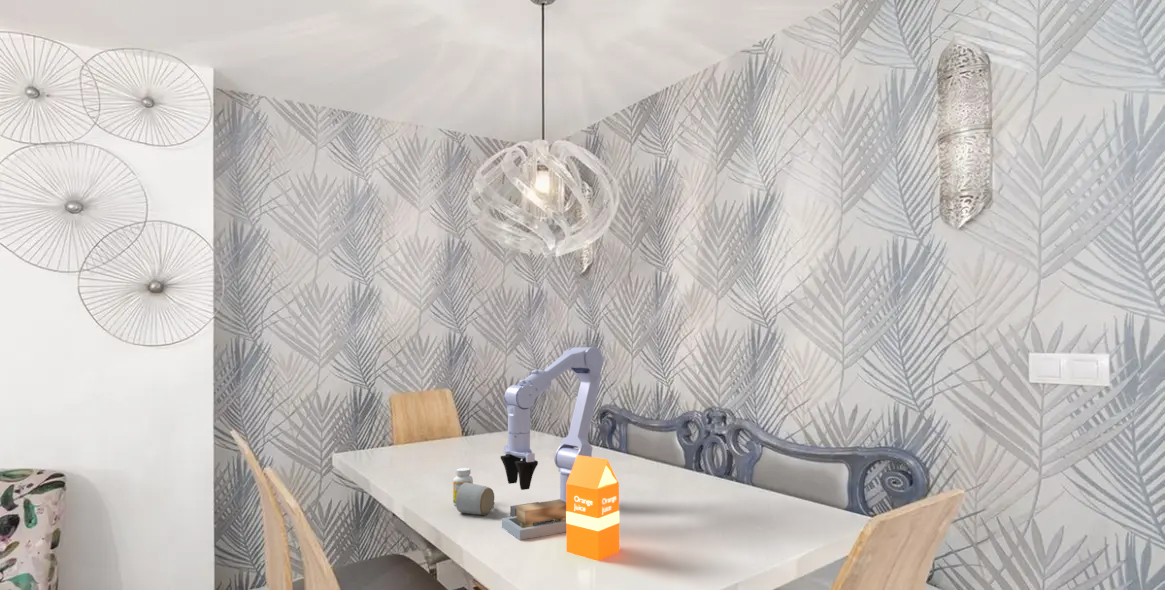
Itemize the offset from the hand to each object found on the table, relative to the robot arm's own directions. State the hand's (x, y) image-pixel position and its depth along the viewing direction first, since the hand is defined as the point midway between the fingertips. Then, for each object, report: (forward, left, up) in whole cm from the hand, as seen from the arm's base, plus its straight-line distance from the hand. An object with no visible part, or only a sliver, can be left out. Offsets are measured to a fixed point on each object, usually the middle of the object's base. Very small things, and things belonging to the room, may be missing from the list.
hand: (518, 486), depth 152 cm
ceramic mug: (+7, -12, -9) cm, 16 cm away
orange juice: (-5, +29, -9) cm, 31 cm away
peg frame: (-3, +9, -8) cm, 13 cm away
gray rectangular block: (-4, -3, -8) cm, 10 cm away
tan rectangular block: (-2, +9, -6) cm, 11 cm away
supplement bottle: (+7, -22, -9) cm, 24 cm away
